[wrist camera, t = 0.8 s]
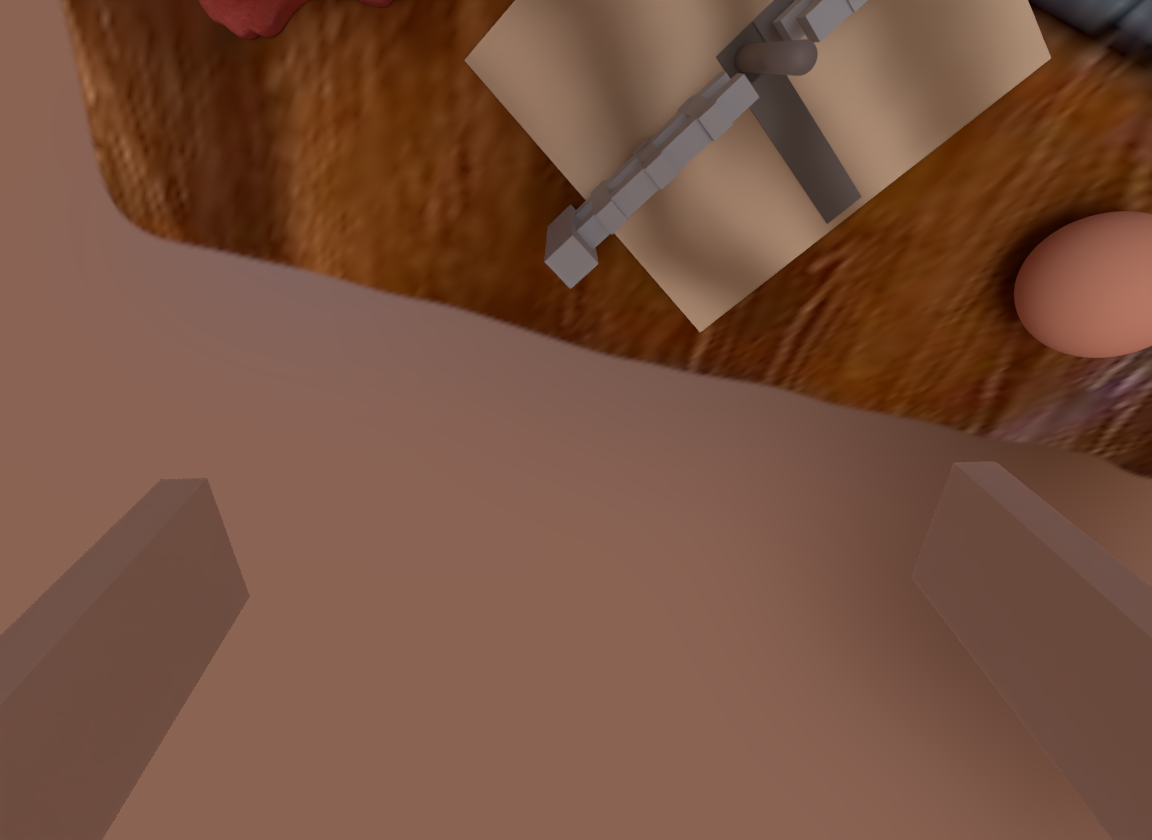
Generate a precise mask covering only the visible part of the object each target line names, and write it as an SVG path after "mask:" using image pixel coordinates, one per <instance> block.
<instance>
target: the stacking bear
mask: <svg viewBox="0 0 1152 840" xmlns="http://www.w3.org/2000/svg"><path fill="white" fill-rule="evenodd" d="M307 1H309V0H199V2H200V4H201V6H202V7H203V9H204V10H205V11H206V13H207V14H208V16H209V17H210V18H211V19H212V20H213V21H214V22H216V23H218V24H220V25H223V26H226V27H227V28H228V29H229V30H230V31H231V32H233V33H234V34H235V35H237V36H238V37H241V38H244V39H248V40H249V39H254V38H256V37H257V36H259V35H261V36H263V37H266V38H270V37H273V36H275V35H277V34H278V33H279V32H280V31H281V30H282V29H283V27H284V26H285V24H286V23H287V21H288V20H289V18H290V17H291V16H292V14H293V13H294V12H295V11H296V10H297V9H298V8H299V7H300V6H301V5H303V4H304V3H306V2H307ZM358 1H361V2H363V3H365V4H368V5H371V6H375V7H387V6H389V5H390V4H391V3H392V1H394V0H358Z"/></svg>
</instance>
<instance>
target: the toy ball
mask: <svg viewBox="0 0 1152 840" xmlns="http://www.w3.org/2000/svg"><path fill="white" fill-rule="evenodd" d="M1014 302H1015V307H1016V311H1017V314H1018V316H1019V318H1020V320H1021V322H1022V324H1023V325H1024V327H1025V328H1026V329H1027V331H1028V332H1029V333H1030V334H1031V335H1032V336H1033V337H1034V338H1036V339H1037V340H1038V341H1040V342H1041V343H1043V344H1044V345H1046V346H1048V347H1050V348H1052V349H1054V350H1056V351H1059V352H1062V353H1065V354H1069V355H1074V356H1079V357H1089V358H1104V357H1114V356H1120V355H1125V354H1129V353H1133V352H1136V351H1139V350H1142V349H1145V348H1147V347H1150V346H1152V214H1151V213H1145V212H1137V211H1117V212H1108V213H1102V214H1097V215H1093V216H1089V217H1086V218H1083V219H1080V220H1077V221H1075V222H1072V223H1070V224H1068V225H1066V226H1064V227H1062V228H1060V229H1059V230H1057V231H1055V232H1054V233H1052V234H1051V235H1049V236H1048V237H1047V238H1045V239H1044V240H1043V241H1042V242H1041V243H1039V244H1038V245H1037V246H1036V247H1035V248H1034V249H1033V250H1032V252H1031V253H1030V254H1029V255H1028V257H1027V258H1026V259H1025V261H1024V263H1023V264H1022V266H1021V268H1020V270H1019V272H1018V275H1017V278H1016V281H1015V287H1014Z"/></svg>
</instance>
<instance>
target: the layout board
mask: <svg viewBox="0 0 1152 840" xmlns="http://www.w3.org/2000/svg"><path fill="white" fill-rule="evenodd" d="M793 2H794V0H515V1H514V2H513V3H512V5H511V6H510V7H509V8H508V9H507V10H506V12H505V13H504V14H503V15H502V16H501V17H500V19H499V20H498V21H497V22H496V23H495V25H494V26H493V27H492V28H491V29H490V30H489V32H488V33H487V34H486V35H485V36H484V38H483V39H482V40H481V41H480V42H479V43H478V45H477V46H476V47H475V48H474V49H473V51H472V52H471V53H470V54H469V55H468V56H467V58H466V59H465V60H464V61H465V62H466V63H467V64H468V65H469V66H470V67H471V69H472V70H473V71H474V72H475V73H476V74H477V76H478V77H479V78H480V79H481V80H482V81H483V82H484V84H485V85H486V86H487V87H488V88H489V89H490V91H491V92H492V93H493V94H494V95H495V96H496V97H497V99H498V100H499V101H500V102H501V103H502V104H503V106H504V107H505V108H506V109H507V110H508V111H509V112H510V114H511V115H512V116H513V117H514V118H515V119H516V121H517V122H518V123H519V124H520V125H521V126H522V127H523V129H524V130H525V131H526V132H527V133H528V134H529V136H530V137H531V138H532V139H533V140H534V141H535V142H536V144H537V145H538V146H539V147H540V148H541V149H542V151H543V152H544V153H545V154H546V155H547V156H548V157H549V159H550V160H551V161H552V162H553V163H554V164H555V166H556V167H557V168H558V169H559V170H560V171H561V172H562V174H563V175H564V176H565V177H566V178H567V179H568V181H569V182H570V183H571V184H572V185H573V186H574V187H575V189H576V190H577V191H578V192H579V193H580V194H581V196H582V197H583V198H584V199H585V200H587V199H588V198H589V197H590V196H591V192H592V191H593V190H594V189H595V188H596V187H597V186H598V185H599V184H600V183H601V182H602V181H603V180H605V181H607V180H608V179H609V178H610V177H611V176H612V175H613V174H614V173H615V172H616V171H617V170H618V169H619V168H621V167H622V166H623V165H624V164H625V163H626V162H627V161H628V160H629V159H630V158H631V157H632V156H633V155H634V154H633V153H632V152H634V151H635V150H636V149H637V148H638V147H639V146H640V145H641V144H642V143H643V142H644V141H645V140H646V139H648V140H650V139H651V138H652V137H653V136H654V135H655V134H656V133H657V132H658V131H659V130H660V129H661V128H662V127H663V126H664V125H665V124H667V123H668V122H669V121H670V120H671V119H672V118H673V117H674V116H675V115H676V114H677V113H678V110H677V109H678V108H679V107H680V106H681V105H683V104H684V103H685V102H686V101H687V100H688V99H689V98H690V97H691V96H692V95H695V96H696V95H697V94H698V93H699V92H700V91H701V90H702V89H703V88H704V87H705V86H706V85H707V84H708V83H709V82H710V81H711V80H713V79H714V78H715V77H716V76H717V75H718V74H719V73H720V72H726V73H727V74H728V76H729V77H730V79H731V78H732V77H734V76H735V75H736V74H737V73H740V74H745V76H746V77H747V79H748V80H749V82H750V83H751V85H752V87H753V88H754V90H755V91H756V93H757V94H758V96H759V97H760V98H758V99H757V100H756V101H755V102H754V103H753V104H752V105H751V106H750V107H749V108H748V109H746V110H745V111H744V112H743V113H742V114H741V115H740V116H739V117H738V118H737V119H735V120H734V121H733V122H732V123H733V125H732V126H731V127H730V128H729V129H728V130H727V131H725V132H724V133H723V134H722V135H721V136H720V137H719V138H718V139H717V140H716V141H713V140H712V141H711V142H710V143H709V144H708V145H707V146H706V147H705V148H704V149H703V150H702V151H700V152H699V153H698V154H697V155H696V156H695V157H694V158H693V159H692V160H691V161H689V162H688V163H687V164H686V165H685V166H684V167H683V168H682V169H681V170H680V171H678V172H677V173H678V175H677V176H676V177H675V178H674V179H673V180H672V181H671V182H669V183H668V184H667V185H666V186H665V187H664V188H663V189H662V190H661V189H659V190H658V191H657V192H655V193H654V194H653V195H652V196H651V197H650V198H649V199H648V200H647V201H646V202H645V203H643V204H642V205H641V206H640V207H639V208H638V209H637V210H636V211H635V212H634V213H632V214H631V215H630V216H629V217H628V218H627V219H628V221H627V222H626V223H624V224H623V225H622V226H621V227H620V228H619V229H618V230H617V231H616V232H615V233H614V234H615V235H616V236H617V237H618V238H619V239H620V241H621V242H622V243H623V244H624V245H625V246H626V247H627V249H628V250H629V251H630V252H631V253H632V254H633V256H634V257H635V258H636V259H637V260H638V261H639V262H640V264H641V265H642V266H643V267H644V268H645V269H646V271H647V272H648V273H649V274H650V275H651V276H652V278H653V279H654V280H655V281H656V282H657V283H658V284H659V286H660V287H661V288H662V289H663V290H664V291H665V293H666V294H667V295H668V296H669V297H670V298H671V299H672V301H673V302H674V303H675V304H676V305H677V306H678V308H679V309H680V310H681V311H682V312H683V313H684V314H685V316H686V317H687V318H688V319H689V320H690V321H691V323H692V324H693V325H694V326H695V327H696V328H697V329H698V331H699V332H701V331H703V330H704V329H705V328H706V327H708V326H709V325H710V324H712V323H713V322H714V321H715V320H717V319H718V318H719V317H721V316H722V315H723V314H724V313H726V312H727V311H728V310H730V309H731V308H732V307H733V306H735V305H736V304H737V303H738V302H740V301H741V300H742V299H744V298H745V297H746V296H747V295H749V294H750V293H751V292H753V291H754V290H755V289H756V288H758V287H759V286H760V285H762V284H763V283H764V282H765V281H767V280H768V279H769V278H770V277H772V276H773V275H774V274H776V273H777V272H778V271H779V270H781V269H782V268H783V267H785V266H786V265H787V264H788V263H790V262H791V261H792V260H794V259H795V258H796V257H797V256H799V255H800V254H801V253H802V252H804V251H805V250H806V249H808V248H809V247H810V246H811V245H813V244H814V243H815V242H817V241H818V240H819V239H820V238H822V237H823V236H824V235H825V234H827V233H828V232H829V231H831V230H832V229H833V228H834V227H836V226H837V225H838V224H840V223H841V222H842V221H843V220H845V219H846V218H847V217H849V216H850V215H851V214H852V213H854V212H855V211H856V210H857V209H859V208H860V207H861V206H863V205H864V204H865V203H866V202H868V201H869V200H870V199H872V198H873V197H874V196H875V195H877V194H878V193H879V192H881V191H882V190H883V189H884V188H886V187H887V186H888V185H889V184H891V183H892V182H893V181H895V180H896V179H897V178H898V177H900V176H901V175H902V174H904V173H905V172H906V171H907V170H909V169H910V168H911V167H912V166H914V165H915V164H916V163H918V162H919V161H920V160H921V159H923V158H924V157H925V156H927V155H928V154H929V153H930V152H932V151H933V150H934V149H936V148H937V147H938V146H939V145H941V144H942V143H943V142H944V141H946V140H947V139H948V138H950V137H951V136H952V135H953V134H955V133H956V132H957V131H959V130H960V129H961V128H962V127H964V126H965V125H966V124H968V123H969V122H970V121H971V120H973V119H974V118H975V117H976V116H978V115H979V114H980V113H982V112H983V111H984V110H985V109H987V108H988V107H989V106H991V105H992V104H993V103H994V102H996V101H997V100H998V99H999V98H1001V97H1002V96H1003V95H1005V94H1006V93H1007V92H1008V91H1010V90H1011V89H1012V88H1014V87H1015V86H1016V85H1017V84H1019V83H1020V82H1021V81H1023V80H1024V79H1025V78H1026V77H1028V76H1029V75H1030V74H1031V73H1033V72H1034V71H1035V70H1037V69H1038V68H1039V67H1040V66H1042V65H1043V64H1044V63H1046V62H1047V61H1048V60H1049V59H1051V56H1050V54H1049V51H1048V49H1047V46H1046V44H1045V42H1044V39H1043V37H1042V34H1041V32H1040V29H1039V27H1038V24H1037V22H1036V19H1035V17H1034V14H1033V12H1032V9H1031V7H1030V4H1029V2H1028V0H868V1H867V2H865V3H864V4H863V5H862V6H861V7H860V8H859V9H858V10H857V11H856V12H853V13H852V14H851V15H849V16H848V17H847V18H846V19H845V20H844V21H843V22H842V23H841V24H840V25H838V26H837V27H836V28H835V29H834V30H833V31H832V32H831V33H830V34H829V35H828V36H826V37H825V38H824V39H823V40H822V41H821V42H813V43H814V44H815V46H816V48H817V53H818V55H817V61H816V63H815V65H814V67H813V68H812V69H811V70H810V71H809V72H808V73H807V74H805V75H802V76H793V75H777V74H762V73H747V72H741V71H739V70H738V69H737V67H736V65H735V55H736V53H737V51H738V50H739V49H740V48H741V47H742V46H744V45H746V44H756V43H768V42H779V41H784V40H783V39H782V37H781V35H780V34H779V32H778V30H777V29H776V27H775V25H774V24H773V21H774V20H775V19H776V18H777V17H778V16H779V15H780V14H782V13H783V12H784V11H785V10H786V9H787V8H788V7H789V6H790V5H791V4H792V3H793ZM802 39H807V40H808V38H807V37H806V35H805V34H804V35H803V36H802V37H801V38H800V39H799V40H802Z"/></svg>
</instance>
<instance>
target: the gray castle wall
mask: <svg viewBox="0 0 1152 840" xmlns="http://www.w3.org/2000/svg"><path fill="white" fill-rule="evenodd" d="M758 98H760V97H759V96H758V94H757V93H756V91H755V90H754V88H753V87H752V85H751V83H750V82H749V80H748V79H747V77H746V76H745V74H740V73H737V74H736V75H735V76H734V77H732V78H731V79H730V77H729V76H728V74H727V73H726V72H720V73H719V74H718V75H717V76H716V77H715V78H714V79H713V80H711V81H710V82H709V83H708V84H707V85H706V86H705V87H704V88H703V89H702V90H701V91H700V92H699V93H698V94H697V95H696V96H695V95H692V96H691V97H690V98H689V99H688V100H687V101H686V102H685V103H684V104H683V105H681V106H680V107H679V108H678V109H677V110H678V113H677V114H676V115H675V116H674V117H673V118H672V119H671V120H670V121H669V122H668V123H667V124H665V125H664V126H663V127H662V128H661V129H660V130H659V131H658V132H657V133H656V134H655V135H654V136H653V137H652V138H651V139H650V140H648V139H646V140H645V141H644V142H643V143H642V144H641V145H640V146H639V147H638V148H637V149H636V150H635V151H634V152H632V153H633V154H634V155H633V156H632V157H631V158H630V159H629V160H628V161H627V162H626V163H625V164H624V165H623V166H622V167H621V168H619V169H618V170H617V171H616V172H615V173H614V174H613V175H612V176H611V177H610V178H609V179H608V180H607V181H605V180H603V181H602V182H601V183H600V184H599V185H598V186H597V187H596V188H595V189H594V190H593V191H592V192H591V196H590V197H589V198H588V199H587V200H586V201H585V202H584V203H583V204H582V205H581V206H580V207H579V208H578V209H577V210H576V209H575V208H574V207H573V206H572V205H571V204H570V205H569V206H568V207H567V208H566V209H565V210H564V211H563V212H562V213H561V214H560V215H559V216H558V217H557V218H556V219H555V220H554V221H553V222H552V223H551V224H550V225H549V226H548V227H547V238H546V249H545V260H544V262H545V263H546V264H547V265H548V266H549V267H550V268H551V269H552V270H553V271H554V272H555V273H556V274H557V275H558V277H559V278H560V279H561V280H562V281H563V282H564V283H565V284H566V285H567V286H568V287H569V288H570V289H571V288H572V287H573V286H574V285H575V284H577V283H578V282H579V281H580V280H581V279H582V278H583V277H584V276H586V275H587V274H588V273H589V272H590V271H591V270H592V269H593V268H594V267H596V266H597V265H598V258H597V252H596V246H597V245H598V244H600V243H601V242H602V241H603V240H604V239H605V238H606V237H607V236H608V235H609V234H613V233H615V232H616V231H617V230H618V229H619V228H620V227H621V226H622V225H623V224H624V223H626V222H627V221H628V219H627V218H628V217H629V216H630V215H631V214H632V213H634V212H635V211H636V210H637V209H638V208H639V207H640V206H641V205H642V204H643V203H645V202H646V201H647V200H648V199H649V198H650V197H651V196H652V195H653V194H654V193H655V192H657V191H658V190H659V189H661V190H662V189H663V188H664V187H665V186H666V185H667V184H668V183H669V182H671V181H672V180H673V179H674V178H675V177H676V176H677V175H678V173H677V172H678V171H680V170H681V169H682V168H683V167H684V166H685V165H686V164H687V163H688V162H689V161H691V160H692V159H693V158H694V157H695V156H696V155H697V154H698V153H699V152H700V151H702V150H703V149H704V148H705V147H706V146H707V145H708V144H709V143H710V142H711V141H712V140H713V141H716V140H717V139H718V138H719V137H720V136H721V135H722V134H723V133H724V132H725V131H727V130H728V129H729V128H730V127H731V126H732V125H733V123H732V122H733V121H734V120H735V119H737V118H738V117H739V116H740V115H741V114H742V113H743V112H744V111H745V110H746V109H748V108H749V107H750V106H751V105H752V104H753V103H754V102H755V101H756V100H757V99H758Z"/></svg>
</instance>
